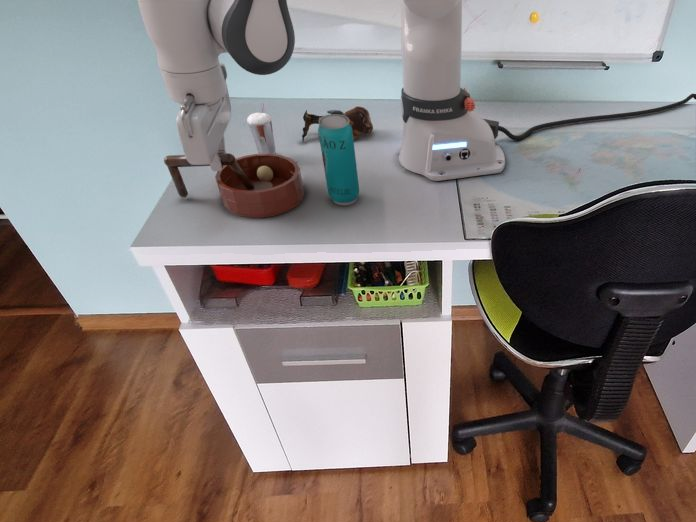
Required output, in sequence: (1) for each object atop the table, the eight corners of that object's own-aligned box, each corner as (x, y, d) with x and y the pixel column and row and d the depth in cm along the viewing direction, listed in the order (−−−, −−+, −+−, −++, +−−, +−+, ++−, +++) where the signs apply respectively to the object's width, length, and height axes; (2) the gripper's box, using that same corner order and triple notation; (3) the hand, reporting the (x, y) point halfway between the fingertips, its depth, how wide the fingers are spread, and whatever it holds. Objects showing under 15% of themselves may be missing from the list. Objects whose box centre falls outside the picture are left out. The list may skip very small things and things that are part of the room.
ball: (275, 177, 105) (272, 162, 103) (273, 184, 103) (270, 170, 101) (259, 177, 105) (256, 163, 103) (257, 185, 103) (254, 170, 101)
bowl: (306, 176, 107) (302, 152, 104) (301, 216, 97) (295, 191, 94) (230, 178, 106) (223, 154, 102) (216, 219, 96) (208, 194, 92)
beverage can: (330, 191, 104) (318, 113, 93) (361, 191, 104) (352, 113, 93) (328, 207, 100) (314, 127, 89) (359, 207, 100) (349, 127, 89)
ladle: (275, 186, 103) (265, 146, 97) (273, 199, 100) (262, 158, 94) (181, 191, 101) (165, 150, 95) (176, 203, 98) (159, 162, 92)
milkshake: (284, 152, 114) (273, 104, 107) (275, 164, 110) (264, 115, 103) (263, 150, 114) (251, 102, 107) (253, 162, 110) (240, 113, 103)
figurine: (374, 141, 119) (371, 113, 115) (302, 143, 117) (297, 115, 113) (373, 126, 124) (370, 99, 120) (304, 128, 122) (299, 101, 118)
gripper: (202, 109, 79) (228, 194, 89) (226, 61, 93) (246, 139, 103) (157, 109, 79) (188, 195, 88) (188, 61, 93) (212, 139, 102)
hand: (219, 164), depth 96 cm, fingers closed on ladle, 2 cm apart
